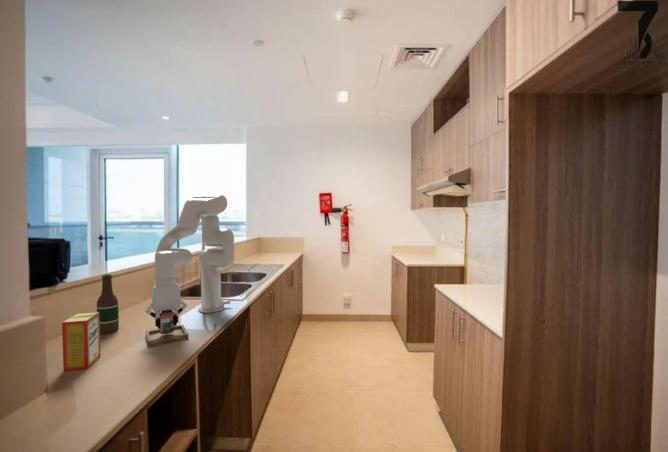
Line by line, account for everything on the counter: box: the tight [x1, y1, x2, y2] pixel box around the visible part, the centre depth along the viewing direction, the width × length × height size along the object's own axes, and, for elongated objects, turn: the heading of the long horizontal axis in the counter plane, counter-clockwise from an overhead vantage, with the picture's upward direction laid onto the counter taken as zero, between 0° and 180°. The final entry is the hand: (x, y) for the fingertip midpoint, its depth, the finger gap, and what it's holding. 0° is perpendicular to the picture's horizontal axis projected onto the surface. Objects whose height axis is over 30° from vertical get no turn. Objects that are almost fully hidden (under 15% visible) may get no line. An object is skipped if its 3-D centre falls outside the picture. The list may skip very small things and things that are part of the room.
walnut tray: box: [145, 324, 189, 348], centre depth 129 cm, size 14×13×2 cm
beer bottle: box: [96, 274, 120, 335], centre depth 136 cm, size 8×8×24 cm
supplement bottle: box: [159, 310, 175, 334], centre depth 129 cm, size 5×5×10 cm
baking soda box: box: [61, 311, 101, 372], centre depth 106 cm, size 10×6×16 cm
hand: (167, 325), depth 129 cm, fingers closed on supplement bottle, 5 cm apart
